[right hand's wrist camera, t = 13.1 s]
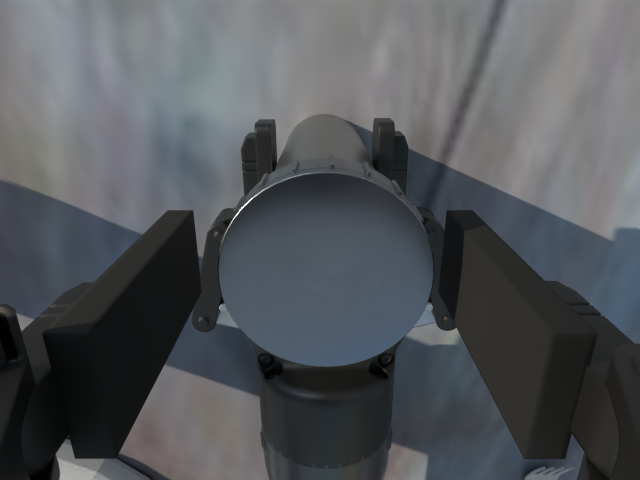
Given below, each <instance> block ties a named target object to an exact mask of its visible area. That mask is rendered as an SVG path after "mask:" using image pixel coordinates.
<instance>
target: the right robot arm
mask: <svg viewBox="0 0 640 480" xmlns="http://www.w3.org/2000/svg"><path fill="white" fill-rule="evenodd" d="M201 292H202V288H201V279H200V270H199V261H198V251H197V242H196V233H195V224H194V214H193V210H168V211H167V212H166V213H165V214H164V215H163V216H162V217H160V218H159V219H158V220H157V221H156V222H155V223H154V224H153V225H152V226H151V227H150V228H149V229H148V230H147V231H146V232H145V233H144V234H143V235H142V236H141V237H140V238H139V239H138V240H137V241H136V242H135V243H134V244H133V245H132V246H131V247H130V248H129V249H128V250H127V251H126V252H125V253H124V254H123V255H122V256H121V257H120V258H118V259H117V260H116V261H115V262H114V263H113V264H112V265H111V266H110V267H109V268H108V269H107V270H106V271H105V272H104V273H103V274H102V275H101V276H100V277H99V278H98V279H97V280H96V281H95V282H94V283H83V284H81V285H79V286H77V287H75V288H73V289H71V290H69V291H67V292H65V293H64V294H63V295H61V296H60V297H59V298H58V299H57V300H56V301H55V302H54V303H53V304H51V307H48V308H47V309H46V310H45V311H44V312H43V313H42V314H40V318H36V319H35V320H34V321H33V322H32V323H30V324H29V325H28V326H27V327H26V328H25V329H24V330H23V331H22V332H21V329H20V325H19V322H18V318H17V315H16V311H15V309H14V308H12V307H10V306H9V305H5V304H0V480H59V479H60V468H59V463H58V459H57V456H56V453H57V451H58V450H59V449H60V447H61V446H62V444H63V443H64V441H65V440H66V438H67V437H68V435H69V438H70V442H71V446H72V449H73V453H74V457H75V459H116V457H117V456H118V454H119V452H120V450H121V448H122V446H123V444H124V442H125V440H126V438H127V436H128V434H129V432H130V430H131V428H132V426H133V424H134V422H135V421H136V419H137V417H138V415H139V413H140V411H141V409H142V407H143V405H144V403H145V401H146V399H147V397H148V395H149V393H150V391H151V389H152V387H153V386H154V384H155V382H156V380H157V378H158V376H159V374H160V372H161V370H162V368H163V366H164V364H165V362H166V360H167V358H168V356H169V354H170V352H171V351H172V349H173V347H174V345H175V343H176V341H177V339H178V337H179V335H180V333H181V331H182V329H183V327H184V325H185V323H186V321H187V319H188V317H189V316H190V314H191V312H192V310H193V308H194V306H195V304H196V302H197V300H198V298H199V296H200V294H201ZM438 292H439V294H440V296H441V298H442V300H443V302H444V304H445V306H446V308H447V310H448V312H449V314H450V316H451V317H452V319H453V321H454V323H455V325H456V327H457V329H458V331H459V333H460V335H461V337H462V339H463V341H464V343H465V345H466V347H467V349H468V351H469V352H470V354H471V356H472V358H473V360H474V362H475V364H476V366H477V368H478V370H479V372H480V374H481V376H482V378H483V380H484V382H485V384H486V386H487V387H488V389H489V391H490V393H491V395H492V397H493V399H494V401H495V403H496V405H497V407H498V409H499V411H500V413H501V415H502V417H503V419H504V421H505V422H506V424H507V426H508V428H509V430H510V432H511V434H512V436H513V438H514V440H515V442H516V444H517V446H518V448H519V450H520V452H521V454H522V456H523V457H524V459H565V457H566V453H567V449H568V446H569V442H570V438H571V434H573V436H574V437H575V439H576V440H577V442H578V443H579V445H580V446H581V447H582V449H583V450H584V456H583V459H582V463H581V467H580V470H579V474H578V477H577V480H640V344H634V343H633V342H632V341H631V340H630V339H629V338H628V337H626V336H625V335H624V334H623V333H622V332H621V331H620V330H619V329H618V328H616V327H615V326H614V325H613V324H612V323H611V322H610V321H609V320H608V319H606V318H605V317H604V316H601V315H600V314H601V313H600V312H599V311H597V310H596V309H595V308H594V307H593V306H590V305H589V302H587V301H586V300H585V299H584V298H583V297H582V296H581V295H580V294H579V293H577V292H576V291H575V290H573V289H571V288H569V287H567V286H565V285H563V284H561V283H559V282H557V281H544V280H543V279H542V278H541V277H540V276H539V275H538V274H537V273H536V272H535V271H534V270H533V269H532V268H531V267H530V266H529V265H528V264H527V263H526V262H525V261H524V260H523V259H522V258H520V257H519V256H518V255H517V254H516V253H515V252H514V251H513V250H512V249H511V248H510V247H509V246H508V245H507V244H506V243H505V242H504V241H503V240H502V239H501V238H500V237H499V236H498V235H497V234H496V233H495V232H494V231H493V230H492V229H491V228H490V227H489V226H488V225H487V224H486V223H485V222H484V221H483V220H482V219H481V218H480V217H478V216H477V215H476V214H475V213H474V212H473V211H472V210H447V214H446V224H445V233H444V242H443V251H442V261H441V270H440V279H439V288H438Z"/></svg>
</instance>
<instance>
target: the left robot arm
mask: <svg viewBox="0 0 640 480" xmlns="http://www.w3.org/2000/svg"><path fill="white" fill-rule="evenodd" d="M241 155H242V168H243V182H244V195H245V197H246V196H247V195H248V193H249V192H250V191H251V190H252V189H253V188H254V187H255V186H256V185H257V184H258V183H259V182H260V181H261V179H262V177H263V175H264V174H266V173H267V174H268V175H269V174H271V173H273V172H274V171H275V168H276V166H277V147H276V126H275V120H274V119H267V120H258V121H257V122H256V123H255V133H249V134H248V135H247V136H246V137H245V139H244V142H243V145H242V148H241ZM407 160H408V145H407V142H406V139H405V136H404V135H403V134H402V133H401V132H400V131H395V127H394V122H393V121H392V120H391V119H390V118H374V124H373V149H372V164H373V167H374V169H375V170H376V171H377V172H379V173H381V174H382V175H384V176H385V177H387V178H388V179H389V180H390V181H391V182H392V181H393V180H395V181H396V182H397V184H398V185H399V187H400V189H401V191H402V192H403V194H404V195H405V191H406V176H407ZM416 208H417V210H418V211H419V213H420V214H421V216H422V218H423V219H424V222H422V224H423V226H424V228H425V230H426V232H427V234H428V237H429V240H430V243H431V246H432V249H433V251H434V253H433V256H434V270H435V274H434V282H433V288H432V291H431V295H430V298H429V301H428V303H427V305H426V308H425V310H424V312H423V313H422V315H421V317H420V318H419V320H418V322H417V323H416V324H415V325H414V327H413V328H415V327H419V326H424V325H428V324H432V323H436V324H437V326H438V327H439V328H440V329H442V330H445V331H449V330H453V329H455V328H456V325H455V323H454V321H453V319H452V317H451V316H450V314H449V312H448V310H447V308H446V306H445V304H444V302H443V300H442V298H441V296H440V294H439V292H438V288H439V279H440V270H441V261H442V251H443V242H444V229H443V228H442V226H441V225H440V223H439V222H437V221H436V219H435V217H434V215H433V213H432V212H431V211H430V209H428V208H426V207H416ZM234 209H235V208H233V209H231V208H227V209H224V210H222V211H221V212H220V214H219V215H218V217H217V218H216V220H215V221H214V223H213V224H212V226H211V227H210V229H209V230H208V233H207V238H206V243H205V249H204V255H203V260H202V266H201V272H200V279H201V288H202V292H201V294H200V296H199V298H198V300H197V302H196V304H195V306H194V311H193V317H192V324H193V326H194V327H195V328H196V329H197V330H199V331H202V332H208V331H211V330H212V329H214V327H215V325H216V323H217V324H221V325H226V326H230V327H235V328H239V327H238V326H237V324H236V323H235V321H234V320H233V319H232V317H231V315H230V314H229V312H228V310H227V308H226V306H225V303H224V301H223V298H222V295H221V292H220V287H219V283H218V271H217V268H218V256H219V251H220V246H221V243H220V240H221V238H222V236H223V234H224V233H225V231H226V229H227V227H228V226H229V225H230V223H231V221H232V219H233V217H234V216H235V214H236V213H234V212H233V211H234ZM239 329H240V328H239ZM404 337H405V336H404ZM404 337H403V338H402V339H401V340H400V341H399V342H397V343H396V344H395V345H393V346H392V347H391V348H389V349H387V350H386V351H384V352H382V353H381V354H379V355H376V356H374V357H372V358H370V359H367V360H364V361H361V362H358V363H354V364H349V365H344V366H334V367H316V366H308V365H302V364H298V363H294V362H290V361H288V360H285V359H282V358H279V357H277V356H275V355H273V354H271V353H269V352H267V351H266V350H264V349H263V348H261V347H260V346H258V345H257V344H256V343H254V342H253V341H252V340H251V339H250V338H248V339H249V340H250V341H251V343H252V344H253V346H254V348H255V350H256V354H257V366H258V379H259V393H260V406H261V421H262V428H261V432H260V435H261V444H262V447H263V450H264V457H265V464H266V469H267V472H268V476H269V480H384V476H385V472H386V468H387V464H388V456H389V449H390V448H391V441H392V430H391V415H392V398H393V383H394V369H395V355H396V350H397V348H398V346H399V344H400V342H401V341H402V340H403V339H404Z"/></svg>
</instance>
